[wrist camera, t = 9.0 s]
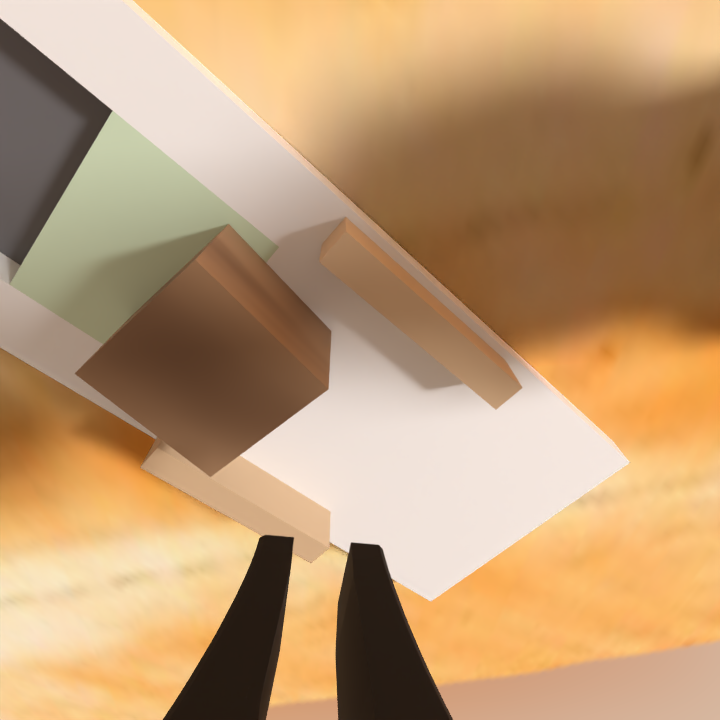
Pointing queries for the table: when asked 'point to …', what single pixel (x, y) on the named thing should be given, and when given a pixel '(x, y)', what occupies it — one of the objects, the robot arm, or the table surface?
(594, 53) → the table surface
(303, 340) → the walnut block
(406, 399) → the deck
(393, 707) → the robot arm
